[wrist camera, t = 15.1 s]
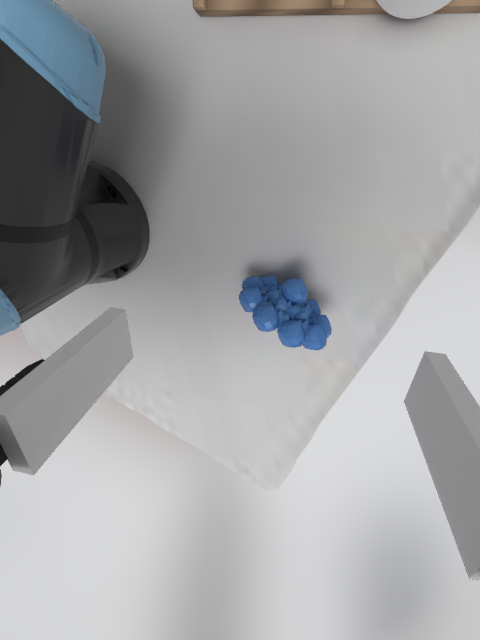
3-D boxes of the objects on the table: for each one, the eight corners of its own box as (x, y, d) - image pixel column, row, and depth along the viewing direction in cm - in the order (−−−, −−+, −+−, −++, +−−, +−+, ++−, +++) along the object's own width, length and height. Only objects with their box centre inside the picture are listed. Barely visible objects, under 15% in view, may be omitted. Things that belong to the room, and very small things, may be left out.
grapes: (345, 280, 39) (357, 328, 28) (318, 321, 42) (321, 378, 32) (261, 241, 38) (243, 276, 28) (241, 286, 42) (219, 331, 32)
